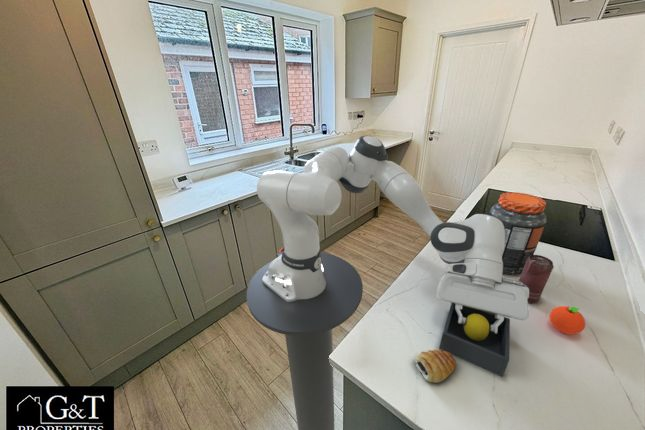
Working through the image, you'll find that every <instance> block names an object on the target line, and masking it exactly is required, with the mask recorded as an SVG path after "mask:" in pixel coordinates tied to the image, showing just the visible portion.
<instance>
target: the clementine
mask: <svg viewBox="0 0 645 430" xmlns="http://www.w3.org/2000/svg"><path fill="white" fill-rule="evenodd" d="M579 310H580V309H579V308H578V307H576V306H566V305H560V306H556V307H554V308H553V309H552V310H551V311H550V313H549V321H550V323H551V325H552V326H553V327H554V328H555V329H556V330H557V331H559V332H561V333H563V334H567V335H577V334H580V333H582V332H583V331H584V330H585V328H586V319H585V317H584V316H583V315H582V313H581V312H580V311H579Z"/></svg>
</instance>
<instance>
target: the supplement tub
mask: <svg viewBox="0 0 645 430" xmlns="http://www.w3.org/2000/svg"><path fill="white" fill-rule="evenodd" d="M497 201H498V202H497V203H495V204H493V206H492V207H490V210H489V213H488V215H491V216H494V217H496V218H498V219H499V220H500V221H501V222H502V223H503V225H504V229H505V249H504V252H503V254H502V261H503V274H506V275H519V274H520V275H521V273H522V271H523V268H524V266H525V263H526V260H527V258H528V257H530V256H531V255H535V252H536V250H537V248H538V245H539V243H540V239H541V237H542V235H543V232H544V229H545V227H546V224H547V220H548V219H547V215H546V213H545V210H546V206H547V201H546V200H544V199H543V198H541V197H539V196H537V195H533V194H529V193H525V192H517V191H516V192H515V191H509V192H503V193H501V194H500V195H499V198H498V200H497Z"/></svg>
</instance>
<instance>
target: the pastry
mask: <svg viewBox="0 0 645 430" xmlns="http://www.w3.org/2000/svg"><path fill="white" fill-rule="evenodd" d="M413 361H414V364H415V366H416V368H417V370H418V371H419V372H420V373H421V374H422V377H423V378H424V379H425V380H426V381H428V382H430V383H436V384H437V383H441V382H443V381H444V380H446V379H447V378H448V377H450V376H451V374H452V373H453V372H454V371H455V370H456V368H457V360H456V359H455V357H454V355H453V354H451V353H449V352H447V351H444V350H442V349H438V350H437V349H433V350H431V349H429V350H427V351H421V352H420V353H419V354H418V355H417V356H414V358H413Z"/></svg>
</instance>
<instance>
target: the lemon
mask: <svg viewBox="0 0 645 430" xmlns="http://www.w3.org/2000/svg"><path fill="white" fill-rule="evenodd" d="M465 322H466V324H465V325H464V331H465V333H466V335H467V336H468V337H469V338H470V339H472V340H475V341H482V340H484V339H485V338H486V337H487V336H488V334H489V323H488V321H487V319H486V318H485V317H483V316H482V315H480V314H471V315H469V316H468V317H467V318H466V321H465Z"/></svg>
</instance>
